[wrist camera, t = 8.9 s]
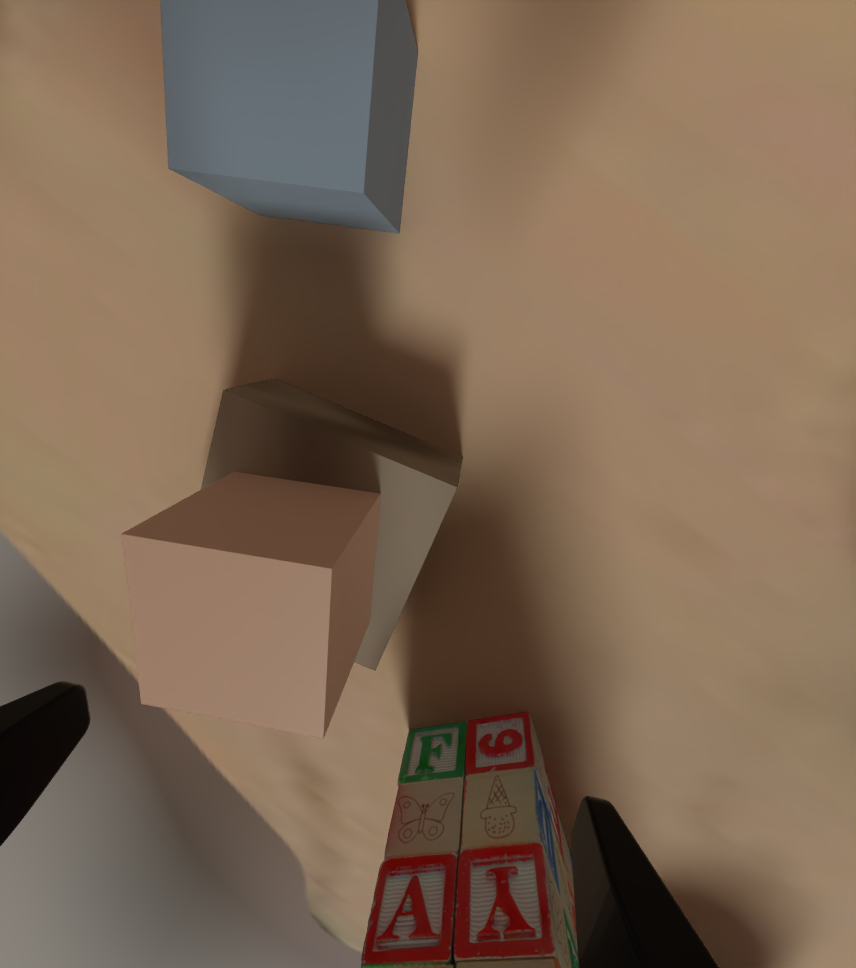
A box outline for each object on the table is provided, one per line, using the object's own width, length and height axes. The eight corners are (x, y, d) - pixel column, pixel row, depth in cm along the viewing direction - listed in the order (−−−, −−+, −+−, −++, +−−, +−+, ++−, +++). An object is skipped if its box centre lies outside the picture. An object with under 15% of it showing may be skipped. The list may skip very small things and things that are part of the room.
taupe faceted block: (463, 455, 18) (457, 487, 14) (395, 609, 21) (375, 670, 17) (277, 377, 18) (223, 390, 14) (233, 542, 21) (178, 589, 17)
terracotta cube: (381, 493, 15) (332, 568, 10) (369, 622, 16) (323, 738, 12) (234, 471, 15) (121, 534, 10) (237, 599, 17) (141, 703, 12)
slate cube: (418, 53, 14) (384, -86, 9) (399, 234, 16) (363, 193, 11) (263, 37, 14) (155, -105, 10) (261, 215, 16) (168, 168, 11)
